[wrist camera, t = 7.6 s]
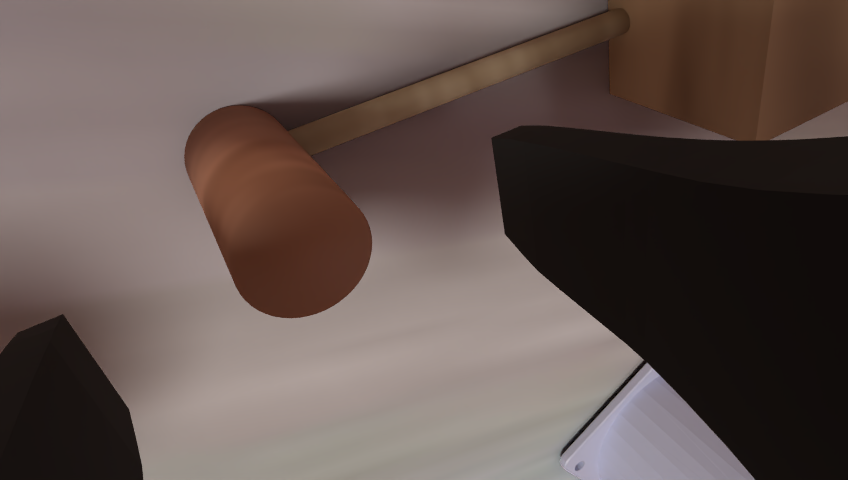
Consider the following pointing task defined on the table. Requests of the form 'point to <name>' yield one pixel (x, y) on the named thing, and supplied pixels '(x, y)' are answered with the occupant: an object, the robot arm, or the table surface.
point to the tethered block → (628, 71)
